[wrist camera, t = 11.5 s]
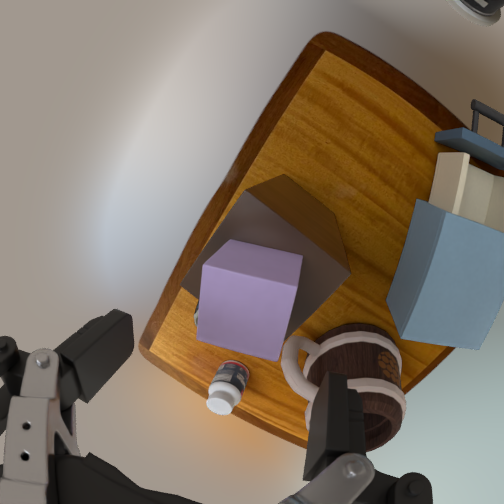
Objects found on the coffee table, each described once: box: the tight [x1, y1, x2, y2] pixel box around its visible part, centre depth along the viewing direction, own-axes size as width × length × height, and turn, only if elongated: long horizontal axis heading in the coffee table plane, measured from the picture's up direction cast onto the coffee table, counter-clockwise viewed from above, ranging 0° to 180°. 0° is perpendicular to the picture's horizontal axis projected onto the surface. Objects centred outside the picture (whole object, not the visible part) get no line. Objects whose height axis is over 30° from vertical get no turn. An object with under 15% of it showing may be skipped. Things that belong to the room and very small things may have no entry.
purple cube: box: [197, 239, 303, 362], centre depth 16 cm, size 4×4×4 cm
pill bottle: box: [207, 360, 249, 415], centre depth 42 cm, size 5×5×9 cm
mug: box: [281, 323, 406, 452], centre depth 34 cm, size 20×15×15 cm
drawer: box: [428, 99, 504, 233], centre depth 25 cm, size 18×11×8 cm, turn 171°
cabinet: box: [386, 199, 504, 350], centre depth 29 cm, size 15×13×10 cm
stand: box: [180, 174, 351, 342], centre depth 27 cm, size 8×8×20 cm
